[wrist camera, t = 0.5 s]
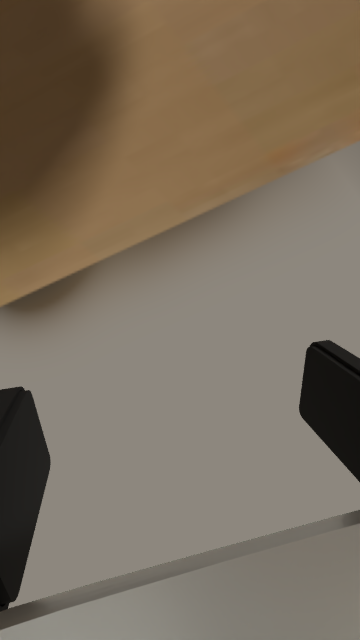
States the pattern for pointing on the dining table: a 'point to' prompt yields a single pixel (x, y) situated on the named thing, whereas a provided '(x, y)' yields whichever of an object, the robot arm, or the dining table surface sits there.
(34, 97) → the dining table surface
